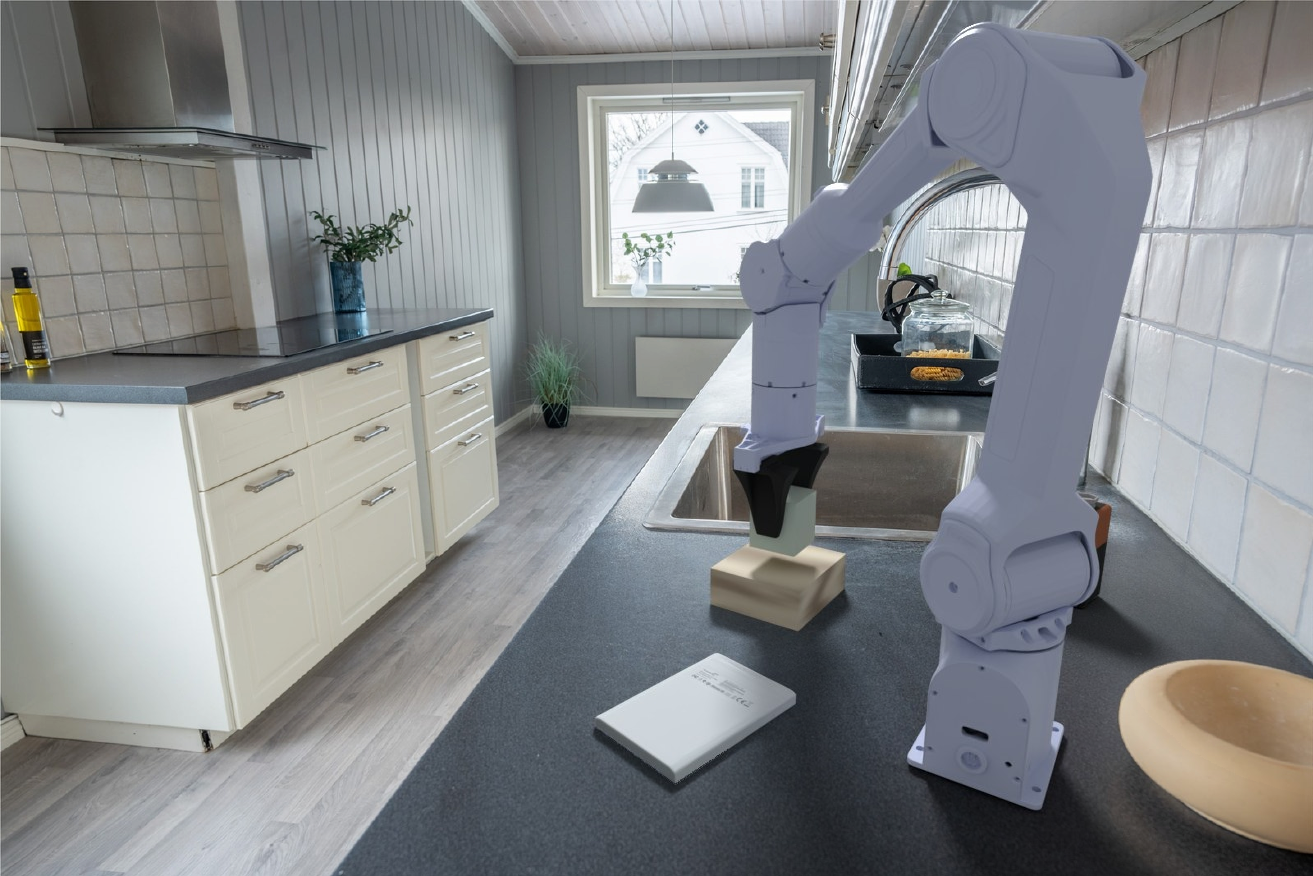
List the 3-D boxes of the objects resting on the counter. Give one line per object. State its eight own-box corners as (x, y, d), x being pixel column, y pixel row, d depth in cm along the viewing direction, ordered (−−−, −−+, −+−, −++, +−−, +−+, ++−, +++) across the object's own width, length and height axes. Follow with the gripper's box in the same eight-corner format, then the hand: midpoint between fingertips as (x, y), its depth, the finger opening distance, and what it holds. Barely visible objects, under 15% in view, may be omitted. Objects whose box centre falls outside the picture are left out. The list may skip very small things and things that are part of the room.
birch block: (798, 634, 67) (799, 592, 66) (710, 607, 72) (710, 567, 71) (844, 592, 75) (846, 553, 74) (761, 570, 80) (762, 534, 79)
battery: (1083, 611, 70) (1097, 506, 67) (1007, 587, 75) (1018, 488, 72) (1101, 595, 73) (1115, 495, 70) (1027, 573, 78) (1038, 478, 75)
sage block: (794, 557, 69) (795, 504, 68) (749, 546, 72) (750, 495, 70) (814, 540, 73) (816, 490, 71) (771, 531, 75) (772, 482, 74)
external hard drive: (595, 735, 55) (714, 667, 63) (675, 793, 49) (796, 710, 57) (593, 715, 55) (714, 649, 63) (675, 771, 49) (796, 690, 57)
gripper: (779, 365, 76) (776, 496, 80) (702, 391, 65) (702, 542, 68) (847, 372, 72) (841, 509, 76) (779, 401, 61) (775, 560, 64)
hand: (780, 526), depth 72 cm, fingers closed on sage block, 4 cm apart
